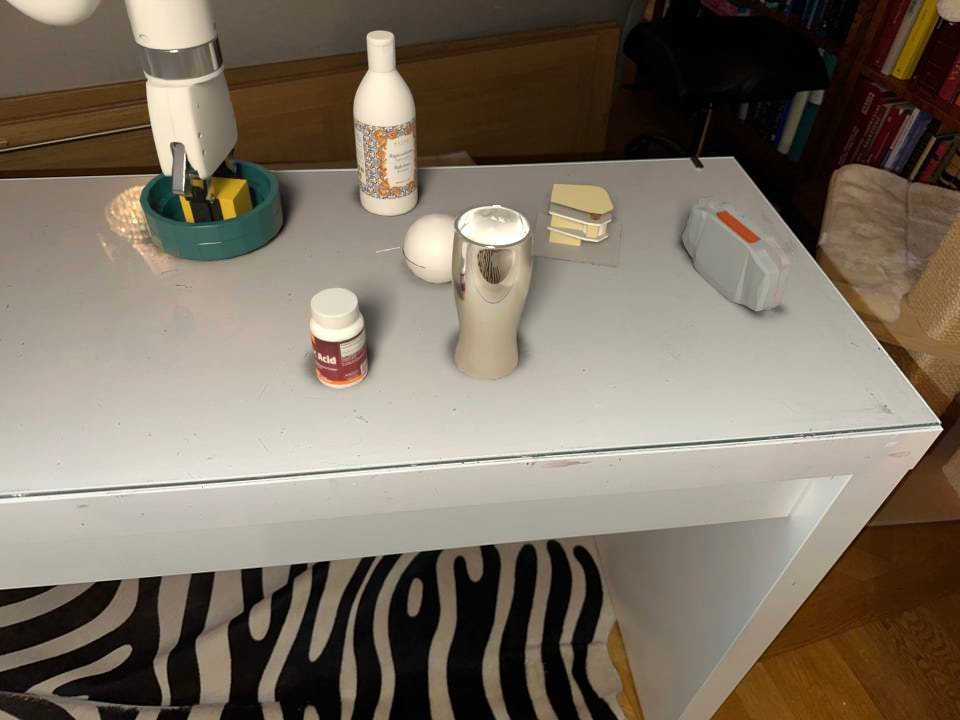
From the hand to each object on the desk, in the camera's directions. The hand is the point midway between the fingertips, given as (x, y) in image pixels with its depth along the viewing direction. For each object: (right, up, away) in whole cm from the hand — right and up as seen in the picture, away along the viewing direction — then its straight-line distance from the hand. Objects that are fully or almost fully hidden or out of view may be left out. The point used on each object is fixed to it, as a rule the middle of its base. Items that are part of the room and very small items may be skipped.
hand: (219, 215), depth 85 cm
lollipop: (+24, -7, -4) cm, 25 cm away
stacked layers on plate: (+41, -2, +2) cm, 41 cm away
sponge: (0, 0, 0) cm, 0 cm away
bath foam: (+18, +3, +7) cm, 20 cm away
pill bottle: (+17, -18, -15) cm, 29 cm away
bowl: (-1, -1, +1) cm, 2 cm away
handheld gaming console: (+56, -8, -3) cm, 57 cm away
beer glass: (+30, -16, -13) cm, 37 cm away
